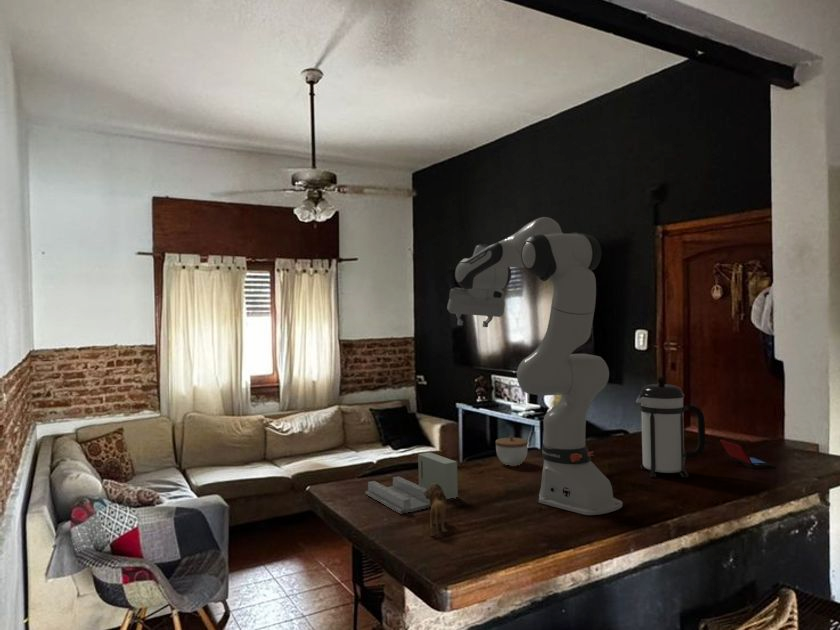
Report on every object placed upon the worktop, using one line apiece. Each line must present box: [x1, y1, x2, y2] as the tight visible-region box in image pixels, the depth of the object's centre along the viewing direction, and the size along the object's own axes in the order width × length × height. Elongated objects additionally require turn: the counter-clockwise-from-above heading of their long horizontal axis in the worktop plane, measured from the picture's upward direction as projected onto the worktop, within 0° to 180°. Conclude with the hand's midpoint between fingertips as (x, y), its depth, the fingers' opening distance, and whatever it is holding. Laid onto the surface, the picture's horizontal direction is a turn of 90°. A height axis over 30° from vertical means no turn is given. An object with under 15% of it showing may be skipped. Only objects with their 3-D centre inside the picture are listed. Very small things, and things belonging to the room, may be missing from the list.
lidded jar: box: [495, 435, 529, 467], centre depth 196 cm, size 11×11×9 cm
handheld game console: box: [720, 438, 774, 469], centre depth 190 cm, size 12×11×7 cm
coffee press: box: [635, 376, 706, 479], centre depth 181 cm, size 17×16×30 cm
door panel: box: [417, 451, 459, 500], centre depth 166 cm, size 14×4×10 cm, turn 32°
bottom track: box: [364, 476, 431, 515], centre depth 159 cm, size 20×12×4 cm, turn 32°
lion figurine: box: [423, 483, 448, 538], centre depth 138 cm, size 15×5×9 cm, turn 6°
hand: (472, 325), depth 208 cm, fingers open, 8 cm apart
